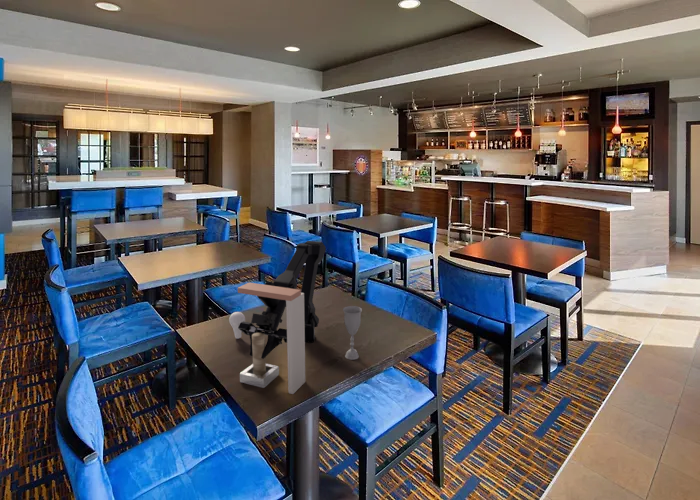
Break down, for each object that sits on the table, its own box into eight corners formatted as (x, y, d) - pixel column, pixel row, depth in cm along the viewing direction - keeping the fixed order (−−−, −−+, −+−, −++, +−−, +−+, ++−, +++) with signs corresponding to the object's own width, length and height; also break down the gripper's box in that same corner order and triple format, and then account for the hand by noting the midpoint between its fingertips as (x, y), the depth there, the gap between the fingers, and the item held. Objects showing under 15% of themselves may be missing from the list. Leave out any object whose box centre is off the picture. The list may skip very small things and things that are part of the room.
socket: (256, 369, 146) (255, 361, 145) (279, 374, 143) (278, 366, 142) (240, 382, 138) (239, 373, 137) (263, 387, 135) (263, 379, 134)
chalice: (342, 352, 159) (342, 306, 155) (360, 351, 160) (361, 305, 156) (343, 361, 152) (343, 313, 148) (362, 360, 153) (363, 313, 149)
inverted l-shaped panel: (256, 370, 145) (252, 280, 138) (305, 381, 139) (304, 288, 132) (242, 381, 138) (237, 287, 131) (292, 394, 131) (290, 295, 124)
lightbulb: (242, 342, 166) (240, 315, 164) (227, 341, 168) (225, 314, 165) (248, 336, 172) (247, 310, 170) (234, 334, 173) (233, 309, 171)
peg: (265, 371, 143) (263, 331, 139) (266, 377, 139) (265, 336, 136) (253, 373, 141) (251, 333, 138) (254, 379, 138) (252, 338, 135)
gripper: (239, 298, 142) (220, 342, 134) (289, 306, 135) (271, 353, 128) (254, 312, 151) (236, 355, 143) (301, 321, 144) (285, 365, 136)
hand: (256, 357), depth 137 cm, fingers closed on peg, 4 cm apart
